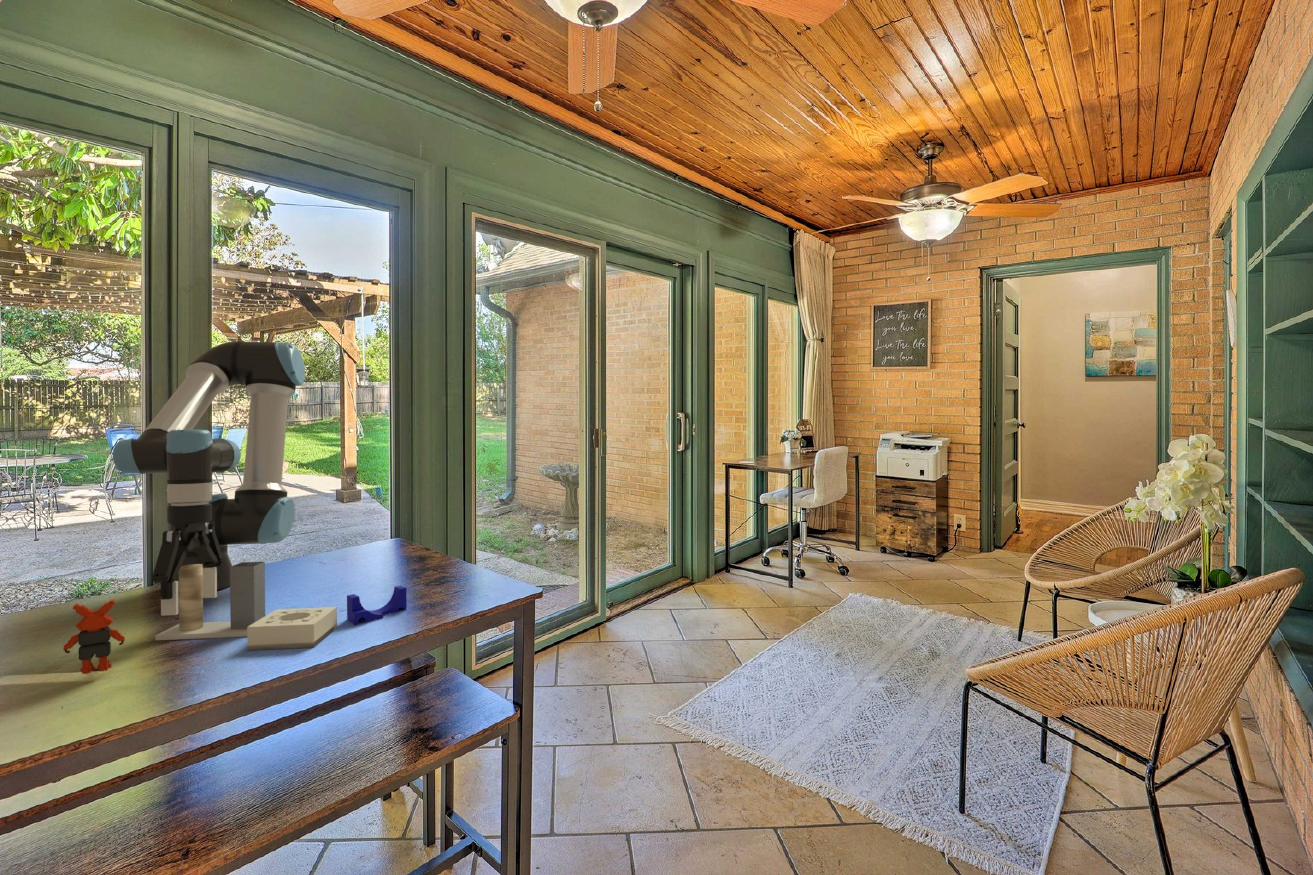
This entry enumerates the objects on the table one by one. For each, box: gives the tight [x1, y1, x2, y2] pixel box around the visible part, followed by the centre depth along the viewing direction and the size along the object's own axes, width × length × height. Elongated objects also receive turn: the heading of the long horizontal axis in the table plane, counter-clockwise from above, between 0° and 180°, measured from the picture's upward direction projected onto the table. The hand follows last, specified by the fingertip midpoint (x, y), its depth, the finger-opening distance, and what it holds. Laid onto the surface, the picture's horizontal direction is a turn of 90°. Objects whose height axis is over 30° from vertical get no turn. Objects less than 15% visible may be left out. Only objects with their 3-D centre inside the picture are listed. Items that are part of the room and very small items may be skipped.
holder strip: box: [154, 620, 247, 641], centre depth 132 cm, size 8×20×1 cm, turn 98°
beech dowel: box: [178, 564, 204, 631], centre depth 131 cm, size 4×4×13 cm
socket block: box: [246, 606, 338, 651], centre depth 127 cm, size 12×12×4 cm
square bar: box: [229, 561, 266, 630], centre depth 132 cm, size 5×5×13 cm
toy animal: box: [62, 599, 126, 675], centre depth 111 cm, size 8×5×12 cm
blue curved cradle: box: [346, 585, 407, 626], centre depth 141 cm, size 12×4×6 cm, turn 136°
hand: (190, 605), depth 131 cm, fingers open, 13 cm apart
